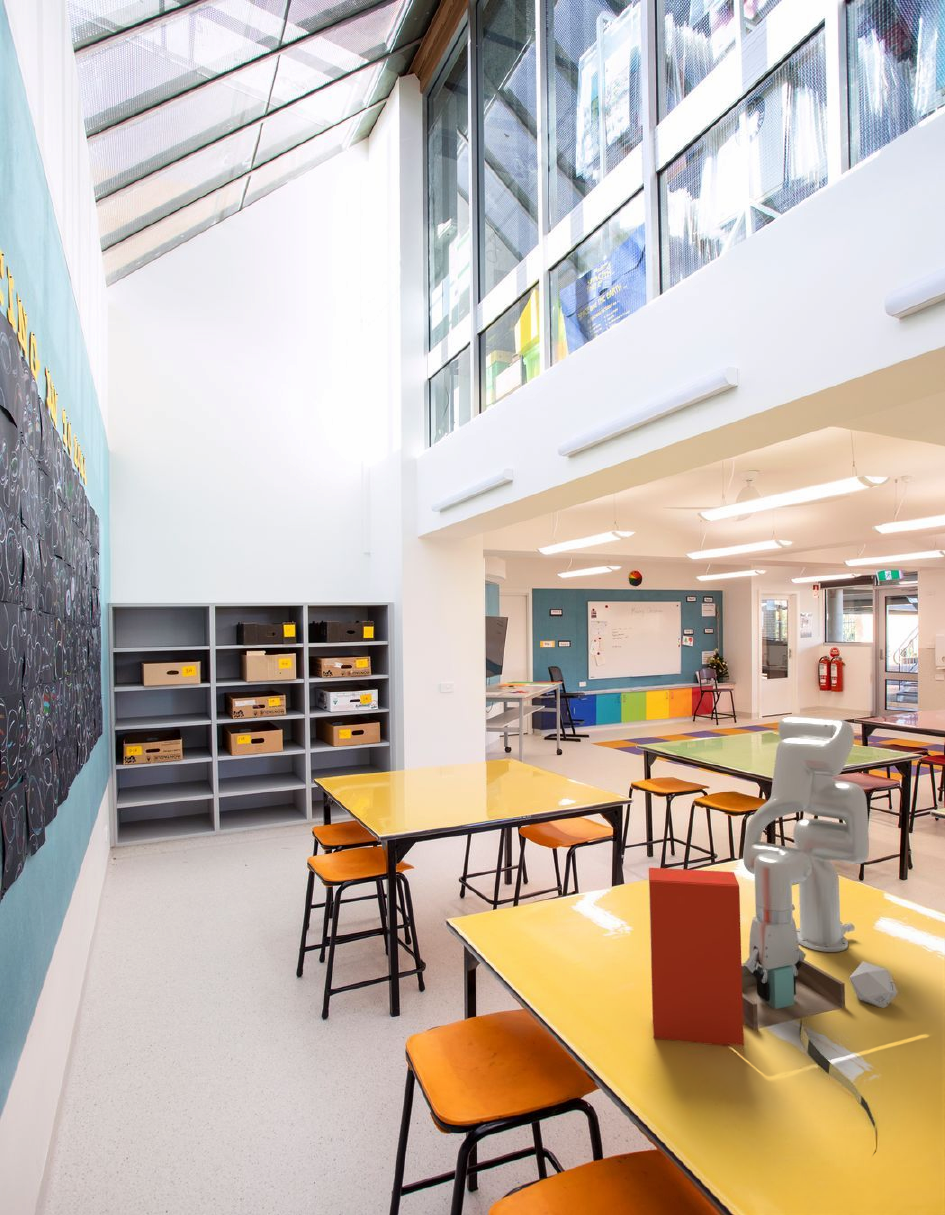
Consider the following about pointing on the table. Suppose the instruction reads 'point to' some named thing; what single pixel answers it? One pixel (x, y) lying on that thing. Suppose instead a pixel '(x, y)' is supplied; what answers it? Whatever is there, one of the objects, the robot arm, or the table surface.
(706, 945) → the file binder
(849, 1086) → the curved strip
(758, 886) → the robot arm
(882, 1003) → the die
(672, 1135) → the table surface
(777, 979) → the teal block
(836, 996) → the open box
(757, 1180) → the table surface
